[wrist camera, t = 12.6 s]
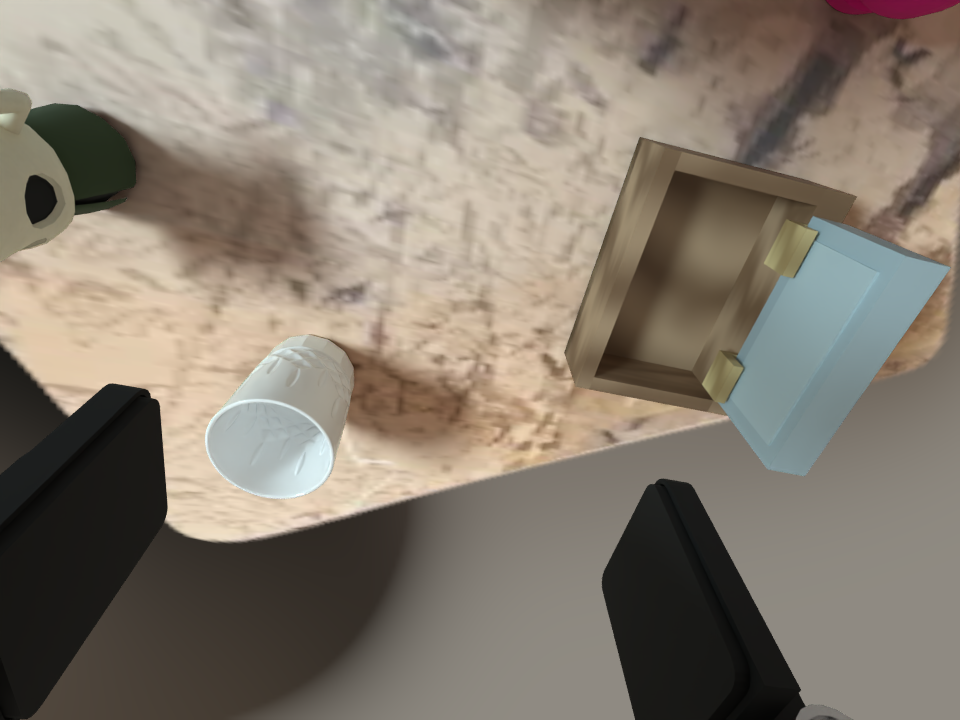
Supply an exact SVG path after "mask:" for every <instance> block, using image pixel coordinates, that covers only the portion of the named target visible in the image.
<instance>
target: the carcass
mask: <svg viewBox="0 0 960 720" xmlns="http://www.w3.org/2000/svg"><path fill="white" fill-rule="evenodd" d="M855 199H856V196H853V195H850V194H847V193H844V192H841V191H838V190H835V189H832V188H829V187H826V186H823V185H820V184H817V183H814V182H811V181H808V180H804V179H800V178H796V177H793V176H789V175H785V174H781V173H777V172H773V171H769V170H765V169H762V168H758V167H754V166H750V165H746V164H742V163H738V162H734V161H730V160H727V159H723V158H719V157H715V156H711V155H707V154H703V153H699V152H696V151H692V150H688V149H684V148H680V147H676V146H672V145H668V144H665V143H661V142H657V141H653V140H649V139H645V138H641V137H640V138H639V141H638V144H637V147H636V150H635V152H634V155H633V158H632V161H631V164H630V167H629V170H628V172H627V175H626V178H625V181H624V184H623V187H622V190H621V192H620V195H619V198H618V201H617V204H616V207H615V210H614V212H613V215H612V218H611V221H610V224H609V227H608V230H607V232H606V235H605V238H604V241H603V244H602V247H601V250H600V252H599V255H598V258H597V261H596V264H595V267H594V270H593V272H592V275H591V278H590V281H589V284H588V287H587V290H586V292H585V295H584V298H583V301H582V304H581V307H580V310H579V312H578V315H577V318H576V321H575V324H574V327H573V330H572V332H571V335H570V338H569V341H568V344H567V347H566V350H565V352H564V353H565V356H566V359H567V362H568V365H569V368H570V371H571V374H572V377H573V380H574V383H575V386H576V387H580V388H585V389H590V390H596V391H601V392H606V393H611V394H616V395H622V396H627V397H632V398H637V399H643V400H648V401H653V402H658V403H663V404H669V405H674V406H679V407H684V408H689V409H695V410H700V411H705V412H710V413H715V414H721V415H726V416H728V415H727V414H726V413H725V411H724V410H723V408H722V407H721V406H720V404H719V403H725V402H726V400H727V398H728V396H729V394H730V392H731V391H732V389H733V387H734V385H735V383H736V381H737V380H738V378H739V376H740V374H741V372H742V370H743V369H744V368H743V366H742V365H741V364H740V363H739V362H738V361H737V360H736V357H737V355H738V354H739V352H740V350H741V348H742V346H743V344H744V342H745V341H746V339H747V337H748V335H749V333H750V331H751V329H752V328H753V326H754V324H755V322H756V320H757V318H758V317H759V315H760V313H761V311H762V309H763V307H764V305H765V304H766V302H767V300H768V298H769V296H770V294H771V292H772V291H773V289H774V287H775V285H776V283H777V281H778V280H779V278H780V276H781V275H782V276H786V277H790V278H793V277H794V275H795V273H796V272H797V270H798V268H799V266H800V264H801V263H802V261H803V259H804V257H805V255H806V253H807V252H808V250H809V248H810V246H811V244H812V242H813V241H814V239H815V237H816V235H817V233H818V231H816V230H814V229H812V228H809V227H807V226H808V224H809V222H810V220H811V218H812V217H813V216H815V217H819V218H823V219H826V220H830V221H834V222H838V223H842V222H843V221H844V219H845V217H846V215H847V213H848V212H849V210H850V208H851V206H852V205H853V203H854V201H855ZM718 402H719V403H718Z"/></svg>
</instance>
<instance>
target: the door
mask: <svg viewBox="0 0 960 720" xmlns="http://www.w3.org/2000/svg"><path fill="white" fill-rule="evenodd" d="M807 227H809V228H812V229H814V230H816V231H818V233H817V235H816V237H815V239H814V241H813V242H812V244H811V246H810V248H809V250H808V252H807V253H806V255H805V257H804V259H803V261H802V263H801V264H800V266H799V268H798V270H797V272H796V273H795V275H794V277H793V278H790V277H786V276H782V275H781V276H780V278H779V280H778V281H777V283H776V285H775V287H774V289H773V291H772V292H771V294H770V296H769V298H768V300H767V302H766V304H765V305H764V307H763V309H762V311H761V313H760V315H759V317H758V318H757V320H756V322H755V324H754V326H753V328H752V329H751V331H750V333H749V335H748V337H747V339H746V341H745V342H744V344H743V346H742V348H741V350H740V352H739V354H738V355H737V357H736V360H737V361H738V362H739V363H740V364H741V365H742V366H743V368H744V369H743V370H742V372H741V374H740V376H739V378H738V380H737V381H736V383H735V385H734V387H733V389H732V391H731V392H730V394H729V396H728V398H727V400H726V402H725V403H719V402H718V403H719V404H720V406H721V407H722V408H723V410H724V411H725V413H726V414H727V415H728V417H729V418H730V419H731V421H732V422H733V423H734V425H735V426H736V427H737V429H738V430H739V431H740V433H741V434H742V435H743V437H744V438H745V440H746V441H747V442H748V444H749V445H750V446H751V448H752V449H753V450H754V452H755V453H756V454H757V456H758V457H759V458H760V460H761V461H762V462H763V464H764V465H765V466H766V468H767V469H769V470H774V471H780V472H785V473H790V474H796V475H801V476H805V475H806V474H807V472H808V471H809V469H810V468H811V467H812V465H813V464H814V462H815V461H816V459H817V458H818V457H819V455H820V454H821V452H822V451H823V449H824V448H825V447H826V445H827V444H828V442H829V441H830V439H831V438H832V437H833V435H834V434H835V432H836V431H837V429H838V428H839V427H840V425H841V424H842V422H843V421H844V419H845V418H846V416H847V415H848V414H849V412H850V411H851V409H852V408H853V407H854V405H855V404H856V402H857V401H858V399H859V398H860V396H861V395H862V394H863V392H864V391H865V389H866V388H867V387H868V385H869V384H870V382H871V381H872V379H873V378H874V377H875V375H876V374H877V372H878V371H879V369H880V368H881V367H882V365H883V364H884V362H885V361H886V359H887V358H888V357H889V355H890V354H891V352H892V351H893V349H894V348H895V347H896V345H897V344H898V342H899V341H900V339H901V338H902V337H903V335H904V334H905V332H906V331H907V329H908V328H909V327H910V325H911V324H912V322H913V321H914V319H915V318H916V317H917V315H918V314H919V312H920V311H921V309H922V308H923V307H924V305H925V304H926V302H927V301H928V299H929V298H930V297H931V295H932V294H933V292H934V291H935V289H936V288H937V287H938V285H939V284H940V282H941V281H942V279H943V278H944V277H945V275H946V274H947V272H948V271H949V269H950V268H951V267H948V266H946V265H944V264H941V263H939V262H936V261H934V260H932V259H929V258H927V257H924V256H922V255H919V254H917V253H915V252H912V251H910V250H907V249H905V248H903V247H900V246H898V245H895V244H893V243H891V242H888V241H886V240H883V239H881V238H878V237H876V236H874V235H871V234H869V233H866V232H864V231H862V230H859V229H857V228H854V227H852V226H849V225H846V224H842V223H838V222H834V221H830V220H826V219H823V218H819V217H815V216H813V217H812V218H811V220H810V222H809V224H808V226H807Z"/></svg>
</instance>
